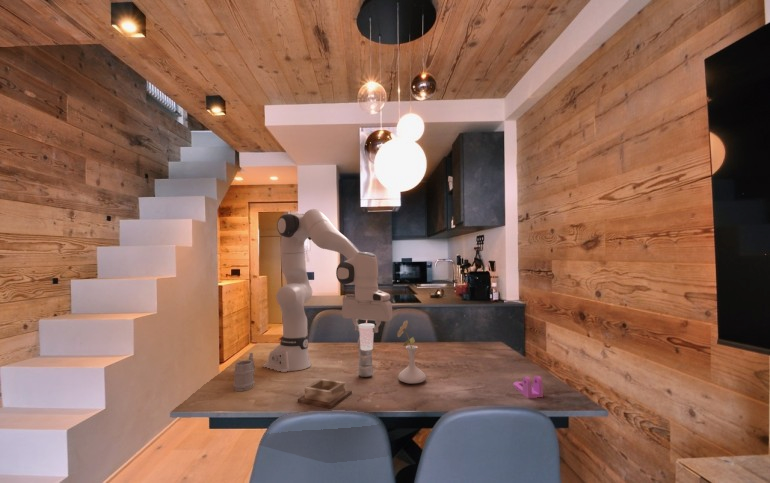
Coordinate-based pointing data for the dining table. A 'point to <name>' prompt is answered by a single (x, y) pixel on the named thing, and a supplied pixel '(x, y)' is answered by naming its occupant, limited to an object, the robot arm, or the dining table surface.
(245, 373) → the mug
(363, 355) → the plastic bottle
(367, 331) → the beverage cup
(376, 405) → the dining table surface
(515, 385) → the bracket
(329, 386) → the socket stand
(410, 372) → the flower in vase
